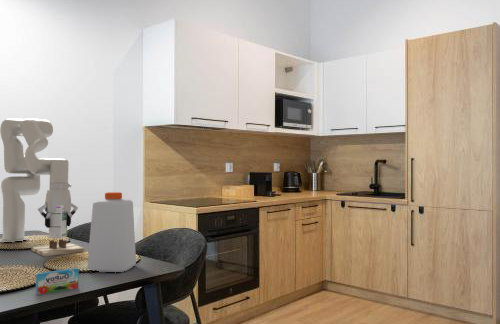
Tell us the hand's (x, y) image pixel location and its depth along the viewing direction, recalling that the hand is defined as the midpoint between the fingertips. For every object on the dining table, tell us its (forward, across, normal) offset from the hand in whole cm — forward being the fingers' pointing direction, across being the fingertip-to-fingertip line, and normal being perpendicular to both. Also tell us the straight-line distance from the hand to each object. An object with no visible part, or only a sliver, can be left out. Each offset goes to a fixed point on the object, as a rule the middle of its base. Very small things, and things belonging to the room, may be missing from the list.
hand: (58, 226), depth 197 cm
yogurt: (+11, +22, +64) cm, 69 cm away
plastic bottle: (+11, -4, +46) cm, 48 cm away
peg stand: (+11, 0, 0) cm, 11 cm away
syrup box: (+5, 0, 0) cm, 5 cm away
